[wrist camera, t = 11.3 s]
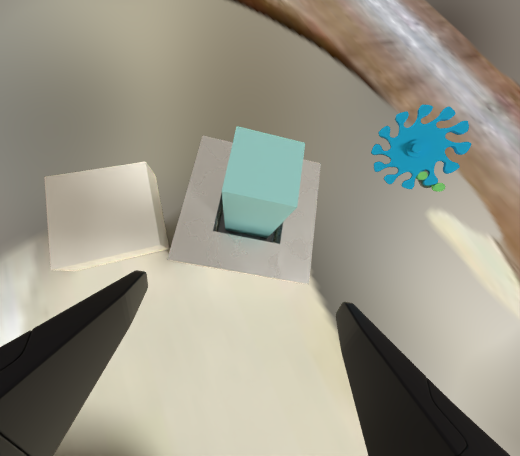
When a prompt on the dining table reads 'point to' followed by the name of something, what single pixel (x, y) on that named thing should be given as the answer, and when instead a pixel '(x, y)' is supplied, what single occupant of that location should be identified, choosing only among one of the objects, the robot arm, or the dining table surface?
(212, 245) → the hole plate
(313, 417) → the dining table surface
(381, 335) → the robot arm
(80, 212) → the white flat square block
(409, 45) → the dining table surface
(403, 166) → the blue splat disc
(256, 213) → the teal square peg
